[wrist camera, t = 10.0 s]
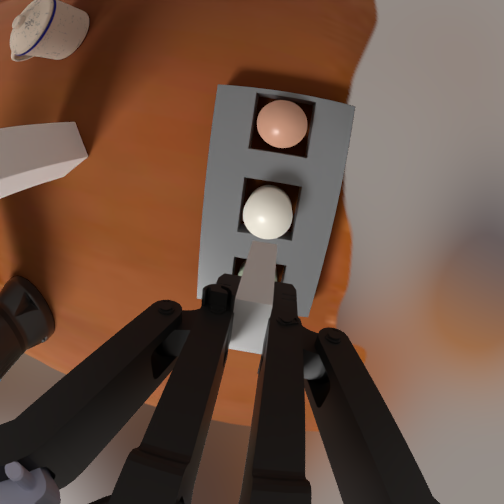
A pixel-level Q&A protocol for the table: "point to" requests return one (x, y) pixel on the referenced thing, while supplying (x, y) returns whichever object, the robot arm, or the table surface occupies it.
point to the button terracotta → (282, 124)
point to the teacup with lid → (48, 30)
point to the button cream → (268, 212)
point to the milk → (38, 154)
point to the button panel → (276, 170)
